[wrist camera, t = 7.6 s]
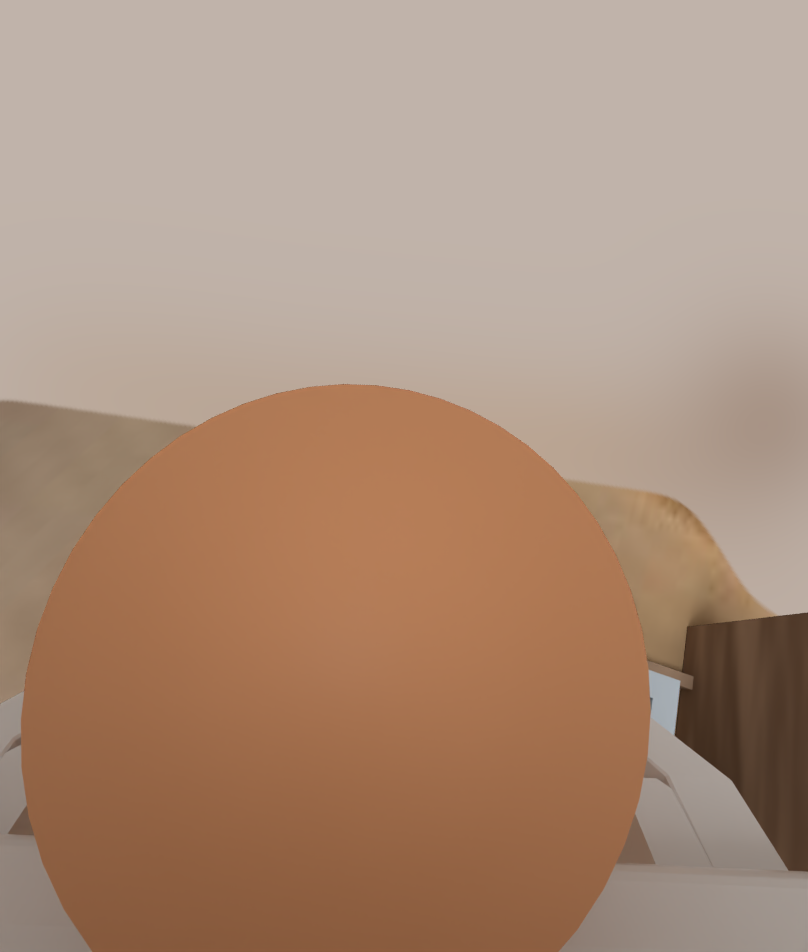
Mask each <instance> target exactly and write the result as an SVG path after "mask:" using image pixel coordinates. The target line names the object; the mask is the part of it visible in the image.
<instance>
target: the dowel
mask: <svg viewBox="0 0 808 952" xmlns="http://www.w3.org/2000/svg"><path fill="white" fill-rule="evenodd" d="M650 715H651V707H650V687H649V668H648V663H647V657H646V651H645V645H644V639H643V633H642V628H641V624H640V621H639V617H638V614H637V610H636V607H635V603H634V600H633V597H632V593H631V590H630V588H629V585H628V583H627V580H626V578H625V576H624V573H623V571H622V568H621V566H620V564H619V561H618V559H617V557H616V554H615V553H614V551H613V549H612V547H611V545H610V544H609V542H608V540H607V538H606V537H605V535H604V533H603V531H602V529H601V528H600V526H599V524H598V522H597V521H596V520H595V518H594V517H593V515H592V514H591V513H590V511H589V510H588V509H587V507H586V506H585V504H584V503H583V502H582V500H581V499H580V497H579V496H578V495H577V493H576V492H575V491H574V490H573V489H572V488H571V487H570V486H569V485H568V483H567V482H566V481H565V480H564V479H563V478H562V477H561V476H560V475H559V474H558V473H557V471H556V470H555V469H554V468H553V467H552V466H551V465H549V464H548V463H547V462H546V461H545V460H544V459H543V458H541V457H540V456H539V455H538V454H537V453H536V452H535V451H533V450H532V449H531V448H530V447H529V446H528V445H526V444H525V443H523V442H522V441H521V440H519V439H518V438H516V437H515V436H513V435H512V434H510V433H509V432H507V431H506V430H505V429H503V428H501V427H500V426H498V425H497V424H495V423H493V422H491V421H489V420H487V419H485V418H483V417H481V416H480V415H478V414H476V413H474V412H472V411H470V410H468V409H465V408H463V407H460V406H457V405H455V404H452V403H450V402H447V401H445V400H442V399H439V398H436V397H432V396H428V395H425V394H420V393H417V392H413V391H410V390H403V389H397V388H390V387H384V386H377V385H350V384H341V385H328V386H315V387H307V388H302V389H297V390H292V391H286V392H281V393H276V394H273V395H270V396H267V397H264V398H260V399H258V400H254V401H251V402H248V403H245V404H242V405H240V406H238V407H236V408H233V409H231V410H229V411H226V412H224V413H222V414H219V415H217V416H215V417H213V418H211V419H209V420H207V421H206V422H204V423H203V424H200V425H199V426H197V427H195V428H194V429H192V430H190V431H188V432H187V433H185V434H183V435H182V436H180V437H179V438H177V439H176V440H174V441H173V442H172V443H170V444H169V445H168V446H166V447H165V448H164V449H162V450H161V451H160V452H158V453H157V454H156V455H154V456H153V457H152V458H150V459H149V460H148V461H147V462H146V463H145V464H144V465H143V466H142V467H141V468H140V469H138V470H137V471H136V472H135V473H134V474H133V475H132V476H131V477H130V478H129V479H128V480H127V481H126V482H124V483H123V484H122V485H121V487H120V488H119V489H118V490H117V491H116V492H115V494H114V495H113V496H112V497H111V498H110V499H109V501H108V502H107V503H106V504H105V505H104V506H103V508H102V509H101V510H100V511H99V512H98V513H97V515H96V516H95V517H94V519H93V520H92V522H91V523H90V525H89V526H88V528H87V529H86V531H85V532H84V534H83V535H82V537H81V538H80V540H79V541H78V542H77V544H76V545H75V547H74V548H73V550H72V552H71V554H70V556H69V558H68V560H67V561H66V563H65V565H64V567H63V569H62V571H61V573H60V575H59V577H58V579H57V581H56V583H55V585H54V586H53V589H52V591H51V594H50V597H49V599H48V602H47V605H46V607H45V610H44V612H43V615H42V618H41V620H40V623H39V626H38V628H37V632H36V636H35V640H34V644H33V648H32V652H31V656H30V660H29V664H28V669H27V673H26V680H25V689H24V697H23V706H22V714H21V768H22V775H23V782H24V788H25V795H26V802H27V809H28V816H29V819H30V823H31V826H32V829H33V833H34V836H35V840H36V843H37V846H38V850H39V853H40V857H41V860H42V863H43V866H44V868H45V870H46V872H47V874H48V876H49V879H50V881H51V883H52V885H53V887H54V889H55V891H56V894H57V896H58V898H59V900H60V902H61V904H62V907H63V909H64V910H65V912H66V913H67V915H68V916H69V918H70V919H71V921H72V922H73V924H74V925H75V927H76V928H77V930H78V931H79V933H80V934H81V936H82V937H83V939H84V940H85V942H86V943H87V945H88V946H89V948H90V949H91V951H92V952H559V951H560V949H561V948H562V947H563V946H564V945H565V944H566V942H567V941H568V940H569V939H570V938H571V937H572V935H573V934H574V933H575V932H576V931H577V930H578V928H579V927H580V925H581V923H582V922H583V920H584V919H585V917H586V916H587V914H588V913H589V911H590V910H591V908H592V906H593V905H594V903H595V902H596V900H597V899H598V897H599V896H600V894H601V893H602V891H603V889H604V888H605V886H606V883H607V881H608V879H609V877H610V875H611V873H612V871H613V869H614V867H615V864H616V862H617V860H618V858H619V856H620V854H621V852H622V850H623V847H624V845H625V842H626V839H627V836H628V833H629V830H630V827H631V824H632V821H633V818H634V815H635V812H636V808H637V805H638V802H639V799H640V793H641V788H642V783H643V778H644V772H645V767H646V762H647V757H648V744H649V730H650Z"/></svg>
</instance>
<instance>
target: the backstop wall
mask: <svg viewBox="0 0 808 952" xmlns="http://www.w3.org/2000/svg"><path fill="white" fill-rule="evenodd" d="M647 663H648V668H649V670H651V671H654V672H656V673H659V674H662V675H665V676H668V677H671V678H674V679H676V680H679V681H680V689H681V690H680V699H679V708H678V717H677V726H676V735H675V737H677V738H678V739H679V740H680V741H682V742H683V743H684V744H685V745H687V746H688V747H689V748H691V749H692V750H693V751H694V752H696V753H697V754H698V755H700V756H701V757H702V758H703V759H705V760H706V761H707V762H708V763H710V764H711V765H712V766H714V767H715V768H716V769H717V770H719V771H720V772H721V773H723V774H724V775H725V776H726V777H728V778H729V779H730V780H731V781H732V782H733V784H734V785H735V787H736V788H737V790H738V791H739V793H740V795H741V796H742V798H743V799H744V801H745V803H746V804H747V806H748V807H749V809H750V810H751V812H752V814H753V815H754V817H755V818H756V820H757V822H758V823H759V825H760V826H761V828H762V829H763V831H764V833H765V834H766V836H767V837H768V839H769V841H770V842H771V844H772V845H773V847H774V848H775V850H776V852H777V853H778V855H779V856H780V858H781V859H782V861H783V863H784V864H785V866H786V867H787V869H788V871H805V872H808V613H800V614H792V615H783V616H775V617H767V618H758V619H750V620H742V621H733V622H725V623H716V624H708V625H700V626H691V627H688V628H687V637H686V646H685V655H684V664H683V673H682V672H679V671H677V670H674V669H671V668H668V667H665V666H662V665H659V664H657V663H654V662H651V661H648V660H647Z"/></svg>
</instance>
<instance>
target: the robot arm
mask: <svg viewBox="0 0 808 952" xmlns="http://www.w3.org/2000/svg"><path fill="white" fill-rule="evenodd" d="M23 697H24V691H23V692H21V693H19V694H17V695H16V696H14V697H12V698H10V699H8V700H6V701H4V702H3V703H1V704H0V952H92V951H91V949H90V948H89V946H88V945H87V943H86V942H85V940H84V939H83V937H82V936H81V934H80V933H79V931H78V930H77V928H76V927H75V925H74V924H73V922H72V921H71V919H70V918H69V916H68V915H67V913H66V912H65V910H64V909H63V907H62V904H61V902H60V900H59V898H58V896H57V894H56V891H55V889H54V887H53V885H52V883H51V881H50V879H49V876H48V874H47V872H46V870H45V868H44V866H43V863H42V860H41V857H40V853H39V850H38V846H37V843H36V840H35V836H34V833H33V829H32V826H31V823H30V819H29V816H28V809H27V802H26V795H25V788H24V782H23V775H22V768H21V714H22V706H23ZM559 952H808V872H805V871H788V869H787V867H786V866H785V864H784V863H783V861H782V859H781V858H780V856H779V855H778V853H777V852H776V850H775V848H774V847H773V845H772V844H771V842H770V841H769V839H768V837H767V836H766V834H765V833H764V831H763V829H762V828H761V826H760V825H759V823H758V822H757V820H756V818H755V817H754V815H753V814H752V812H751V810H750V809H749V807H748V806H747V804H746V803H745V801H744V799H743V798H742V796H741V795H740V793H739V791H738V790H737V788H736V787H735V785H734V784H733V782H732V781H731V780H730V779H729V778H728V777H726V776H725V775H724V774H723V773H721V772H720V771H719V770H717V769H716V768H715V767H714V766H712V765H711V764H710V763H708V762H707V761H706V760H705V759H703V758H702V757H701V756H700V755H698V754H697V753H696V752H694V751H693V750H692V749H691V748H689V747H688V746H687V745H685V744H684V743H683V742H682V741H680V740H679V739H678V738H677V737H675V736H674V735H673V734H671V733H670V732H669V731H668V730H666V729H665V728H664V727H662V726H661V725H660V724H659V723H657V722H656V721H655V720H654V719H652V718H651V717H650V730H649V744H648V757H647V762H646V767H645V772H644V778H643V783H642V788H641V793H640V799H639V802H638V805H637V808H636V812H635V815H634V818H633V821H632V824H631V827H630V830H629V833H628V836H627V839H626V842H625V845H624V847H623V850H622V852H621V854H620V856H619V858H618V860H617V862H616V864H615V867H614V869H613V871H612V873H611V875H610V877H609V879H608V881H607V883H606V886H605V888H604V889H603V891H602V893H601V894H600V896H599V897H598V899H597V900H596V902H595V903H594V905H593V906H592V908H591V910H590V911H589V913H588V914H587V916H586V917H585V919H584V920H583V922H582V923H581V925H580V927H579V928H578V930H577V931H576V932H575V933H574V934H573V935H572V937H571V938H570V939H569V940H568V941H567V942H566V944H565V945H564V946H563V947H562V948H561V949H560V951H559Z"/></svg>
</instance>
